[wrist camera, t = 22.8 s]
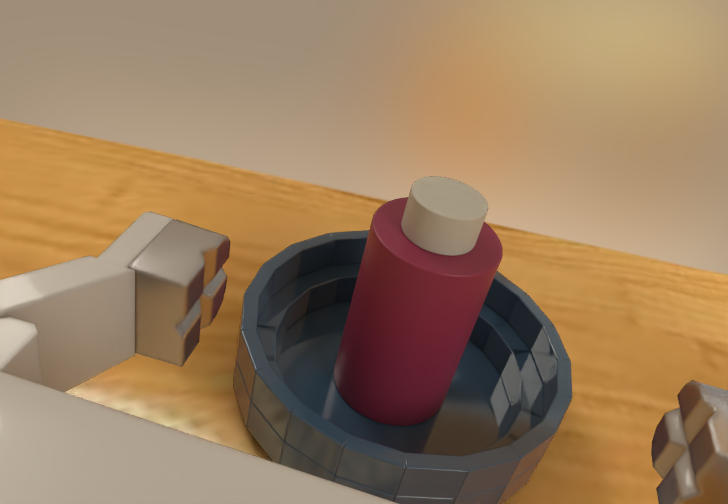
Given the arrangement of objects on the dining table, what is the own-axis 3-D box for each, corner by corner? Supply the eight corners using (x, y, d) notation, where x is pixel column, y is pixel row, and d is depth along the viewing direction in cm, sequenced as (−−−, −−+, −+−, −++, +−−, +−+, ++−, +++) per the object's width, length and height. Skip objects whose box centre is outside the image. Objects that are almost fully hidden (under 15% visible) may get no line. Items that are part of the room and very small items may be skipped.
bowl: (541, 337, 39) (568, 282, 37) (537, 584, 27) (577, 524, 24) (292, 259, 40) (302, 201, 38) (175, 460, 28) (179, 392, 25)
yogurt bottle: (450, 360, 35) (520, 185, 29) (436, 442, 31) (515, 254, 24) (349, 328, 36) (396, 148, 29) (319, 404, 31) (368, 209, 25)
